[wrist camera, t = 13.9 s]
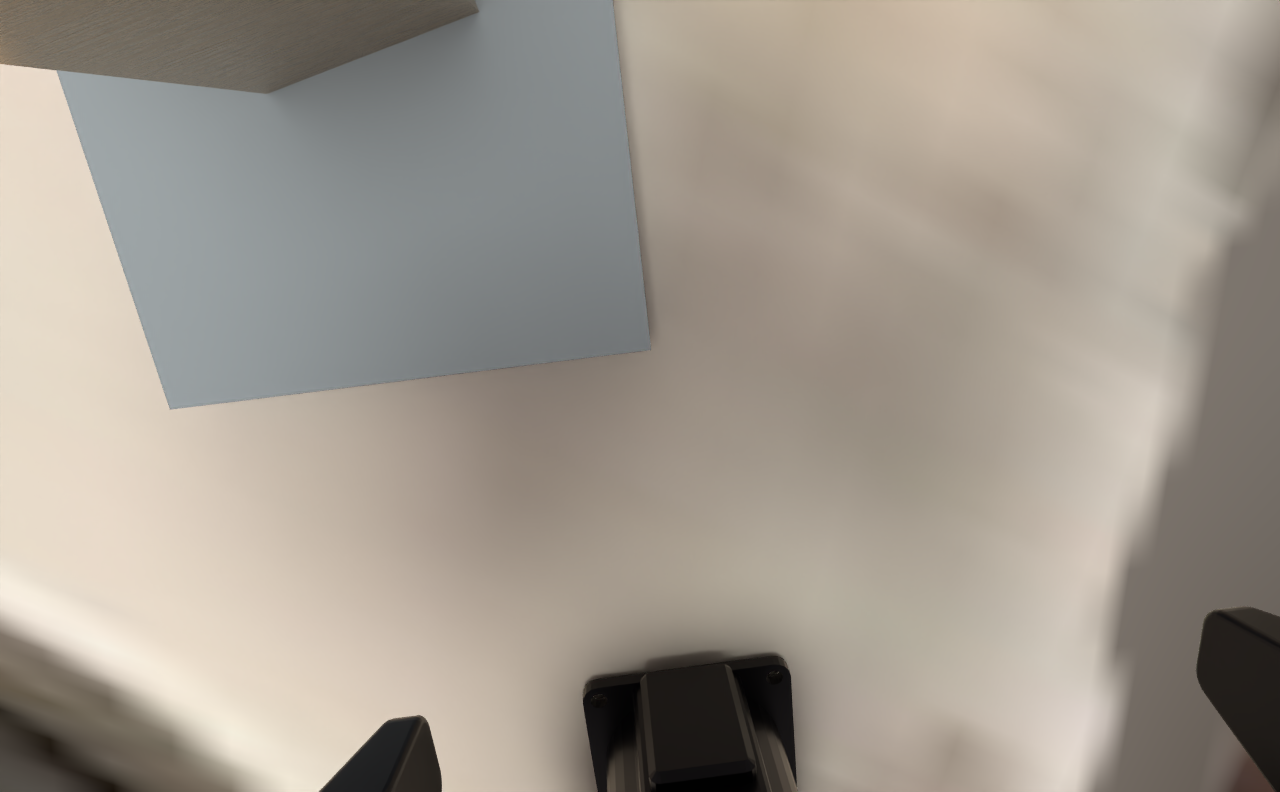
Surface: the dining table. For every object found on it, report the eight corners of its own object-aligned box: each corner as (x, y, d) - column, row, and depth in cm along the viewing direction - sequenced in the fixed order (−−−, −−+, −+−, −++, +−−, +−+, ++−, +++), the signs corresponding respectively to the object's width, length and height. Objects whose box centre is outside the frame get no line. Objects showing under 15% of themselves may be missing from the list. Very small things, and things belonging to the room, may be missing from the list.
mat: (647, 335, 21) (651, 350, 19) (199, 390, 20) (170, 409, 19) (575, -311, 16) (573, -354, 15) (-5, -250, 16) (-64, -288, 14)
